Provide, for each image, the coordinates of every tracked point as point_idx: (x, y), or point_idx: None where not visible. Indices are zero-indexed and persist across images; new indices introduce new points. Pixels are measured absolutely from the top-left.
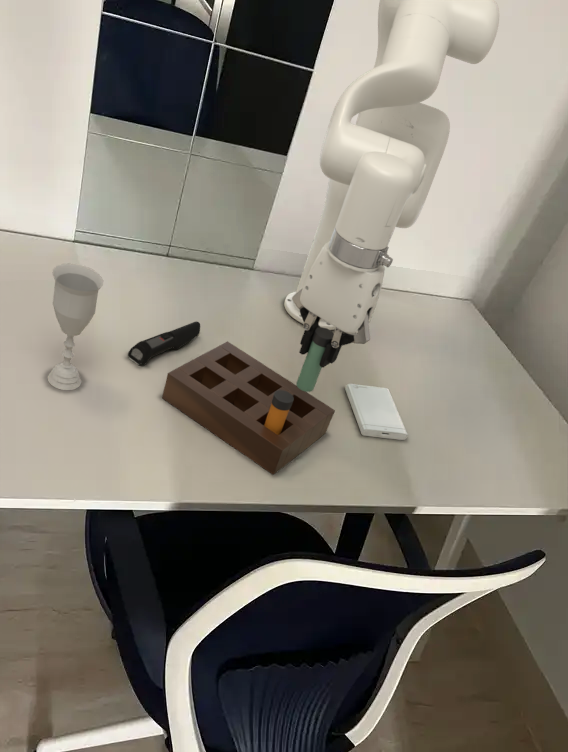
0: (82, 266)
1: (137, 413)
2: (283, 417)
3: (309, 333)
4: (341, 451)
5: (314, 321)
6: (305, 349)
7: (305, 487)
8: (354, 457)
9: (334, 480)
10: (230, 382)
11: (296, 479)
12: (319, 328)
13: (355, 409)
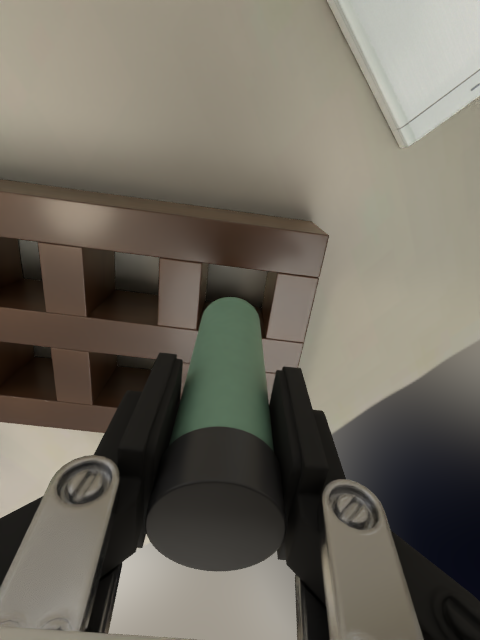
0: None
1: (22, 432)
2: None
3: (142, 544)
4: (366, 252)
5: (106, 618)
6: None
7: (332, 395)
8: (399, 248)
9: (376, 345)
10: (63, 348)
11: (311, 389)
12: (159, 518)
13: (359, 53)
